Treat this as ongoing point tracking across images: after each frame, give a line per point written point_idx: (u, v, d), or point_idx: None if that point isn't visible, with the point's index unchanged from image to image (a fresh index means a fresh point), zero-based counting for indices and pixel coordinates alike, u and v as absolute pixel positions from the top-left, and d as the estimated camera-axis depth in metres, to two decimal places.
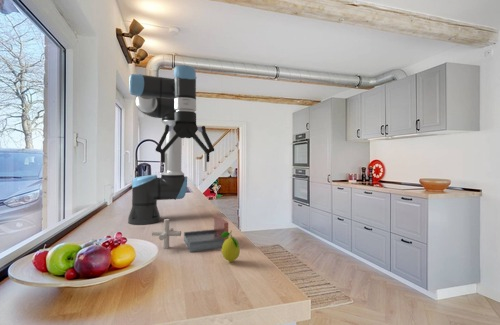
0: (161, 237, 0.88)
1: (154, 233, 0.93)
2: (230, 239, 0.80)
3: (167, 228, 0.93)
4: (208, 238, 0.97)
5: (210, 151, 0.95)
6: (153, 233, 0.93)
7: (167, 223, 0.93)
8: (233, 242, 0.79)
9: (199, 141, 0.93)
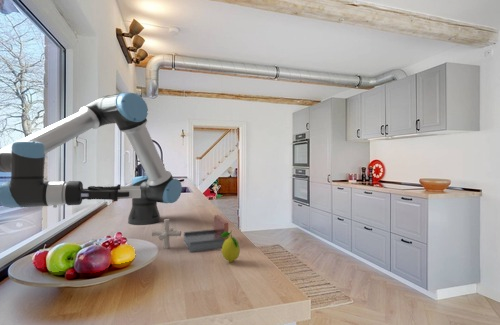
0: (161, 237, 0.88)
1: (154, 233, 0.93)
2: (230, 239, 0.80)
3: (167, 228, 0.93)
4: (208, 238, 0.97)
5: (115, 197, 0.79)
6: (153, 233, 0.93)
7: (167, 223, 0.93)
8: (233, 242, 0.79)
9: None
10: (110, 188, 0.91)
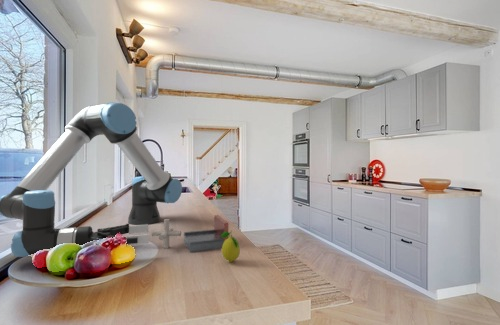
0: (161, 237, 0.88)
1: (154, 233, 0.93)
2: (230, 239, 0.80)
3: (167, 228, 0.93)
4: (208, 238, 0.97)
5: None
6: (153, 233, 0.93)
7: (167, 223, 0.93)
8: (233, 242, 0.79)
9: None
10: (119, 229, 0.92)
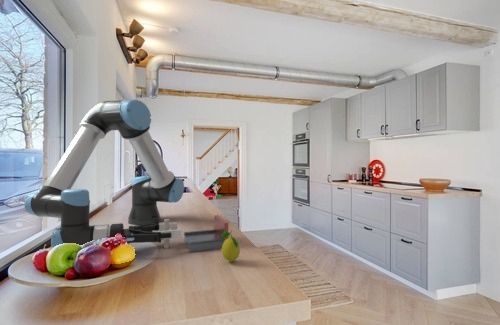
0: None
1: None
2: (230, 239, 0.80)
3: (167, 228, 0.93)
4: (208, 238, 0.97)
5: None
6: None
7: (167, 223, 0.93)
8: (233, 242, 0.79)
9: None
10: (149, 227, 0.95)
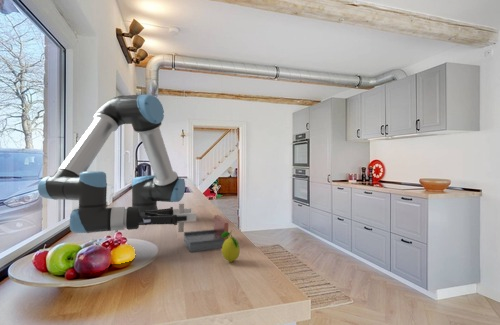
0: None
1: None
2: (230, 239, 0.80)
3: (182, 212, 0.94)
4: (208, 238, 0.97)
5: (175, 221, 0.86)
6: None
7: (182, 207, 0.94)
8: (233, 242, 0.79)
9: None
10: (163, 211, 0.96)
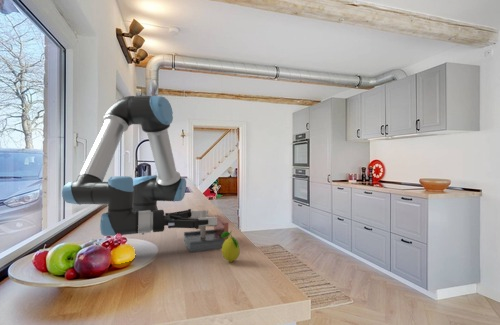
0: (200, 226, 0.93)
1: None
2: (230, 239, 0.80)
3: None
4: (208, 238, 0.97)
5: None
6: None
7: (204, 214, 0.97)
8: (233, 242, 0.79)
9: None
10: (184, 213, 1.00)
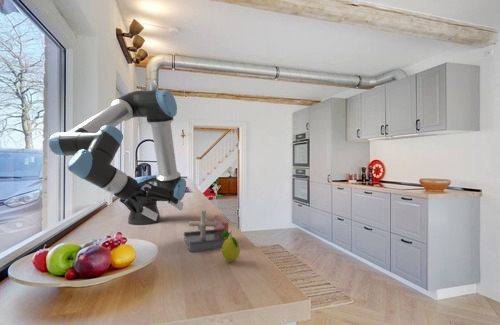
0: (200, 227, 0.92)
1: (191, 223, 0.97)
2: (230, 239, 0.80)
3: (204, 219, 0.97)
4: (208, 238, 0.97)
5: (171, 197, 0.90)
6: (190, 223, 0.97)
7: (204, 214, 0.97)
8: (233, 242, 0.79)
9: (154, 198, 0.89)
10: (140, 203, 0.95)
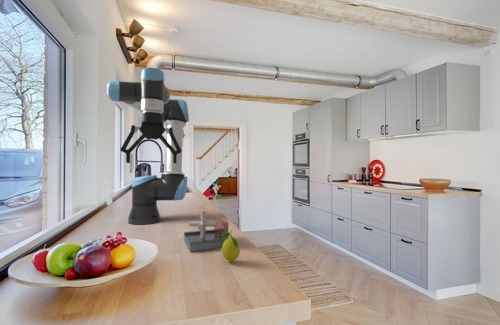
0: (200, 227, 0.92)
1: (191, 223, 0.97)
2: (230, 239, 0.80)
3: (204, 219, 0.97)
4: (208, 238, 0.97)
5: (177, 152, 0.96)
6: (190, 223, 0.97)
7: (204, 214, 0.97)
8: (233, 242, 0.79)
9: (166, 142, 0.94)
10: None
